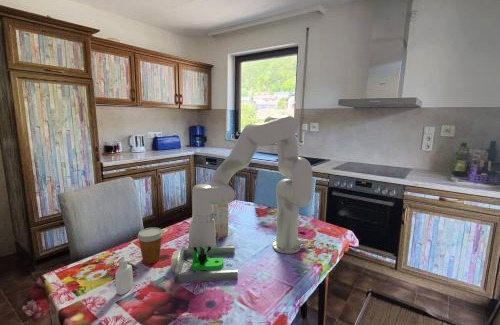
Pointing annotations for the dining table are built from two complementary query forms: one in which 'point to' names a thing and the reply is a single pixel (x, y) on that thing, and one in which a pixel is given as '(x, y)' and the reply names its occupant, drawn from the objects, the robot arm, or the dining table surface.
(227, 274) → the drawer frame
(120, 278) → the eye dropper bottle
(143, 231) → the disposable coffee cup
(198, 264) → the mechanical part
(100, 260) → the dining table surface
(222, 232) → the cracker box
